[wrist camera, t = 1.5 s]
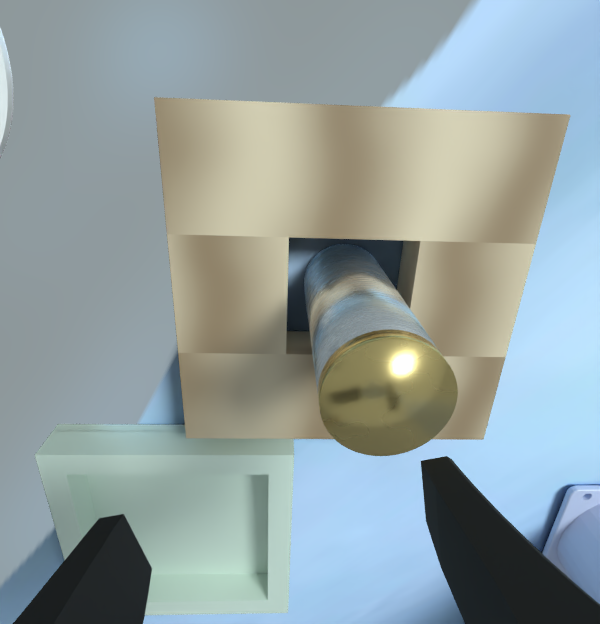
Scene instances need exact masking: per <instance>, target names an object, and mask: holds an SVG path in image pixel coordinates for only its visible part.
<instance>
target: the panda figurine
mask: <svg viewBox="0 0 600 624" xmlns="http://www.w3.org/2000/svg"><path fill="white" fill-rule="evenodd" d="M12 114H13V82H12V72H11V66H10V62H9V56H8V52H7V48H6V44H5V40H4V37H3V34H2V31H1V28H0V158H1V156H2V153H3V151H4V149H5V146H6V143H7V140H8V137H9V133H10V127H11V123H12Z"/></svg>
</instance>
